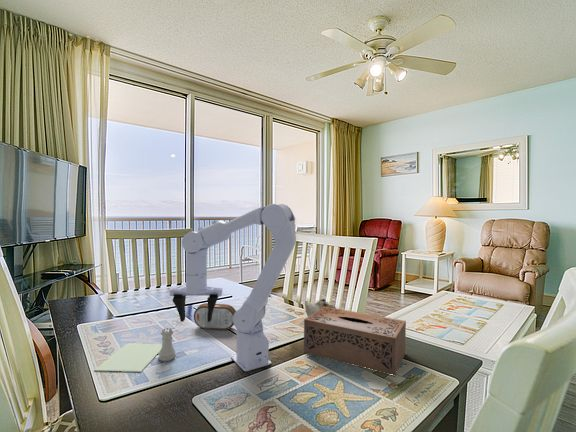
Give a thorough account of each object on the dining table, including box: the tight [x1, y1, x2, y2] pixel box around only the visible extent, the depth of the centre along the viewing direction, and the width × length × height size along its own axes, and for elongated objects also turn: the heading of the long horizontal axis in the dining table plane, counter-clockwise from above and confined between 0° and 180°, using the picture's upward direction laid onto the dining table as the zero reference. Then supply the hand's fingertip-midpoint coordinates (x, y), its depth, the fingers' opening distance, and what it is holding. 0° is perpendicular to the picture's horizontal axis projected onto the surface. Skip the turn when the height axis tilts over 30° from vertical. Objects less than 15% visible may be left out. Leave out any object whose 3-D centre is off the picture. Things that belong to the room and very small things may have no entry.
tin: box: [193, 302, 237, 331], centre depth 111 cm, size 15×3×8 cm, turn 84°
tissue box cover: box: [303, 306, 407, 376], centre depth 94 cm, size 26×14×10 cm, turn 60°
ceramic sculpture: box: [304, 298, 337, 317], centre depth 119 cm, size 11×9×15 cm
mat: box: [93, 342, 162, 373], centre depth 90 cm, size 12×16×1 cm
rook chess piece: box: [158, 327, 176, 362], centre depth 89 cm, size 4×4×8 cm
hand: (196, 320), depth 92 cm, fingers open, 7 cm apart
